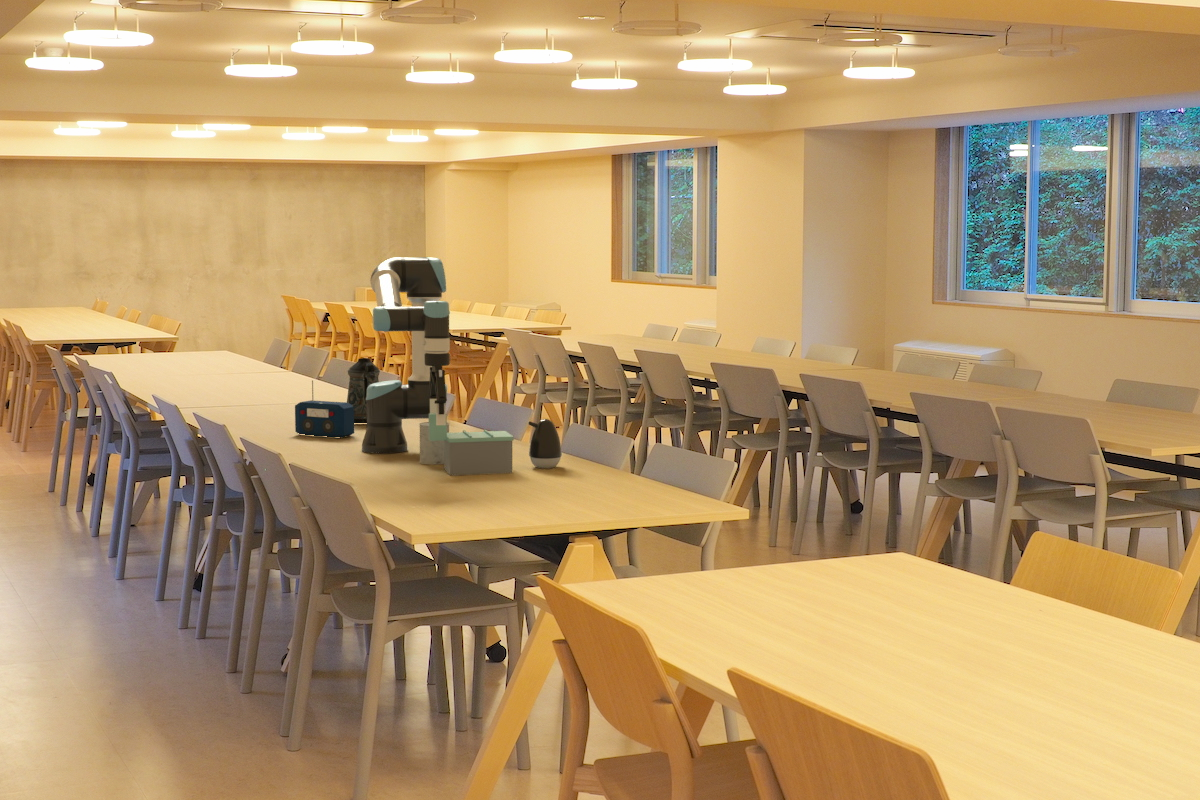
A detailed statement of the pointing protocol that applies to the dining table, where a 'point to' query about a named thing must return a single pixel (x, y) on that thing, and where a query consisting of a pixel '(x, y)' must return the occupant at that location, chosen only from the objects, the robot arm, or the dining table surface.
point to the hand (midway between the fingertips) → (437, 422)
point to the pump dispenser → (545, 445)
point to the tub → (478, 457)
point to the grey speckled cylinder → (430, 447)
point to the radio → (324, 418)
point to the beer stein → (361, 387)
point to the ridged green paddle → (463, 434)
